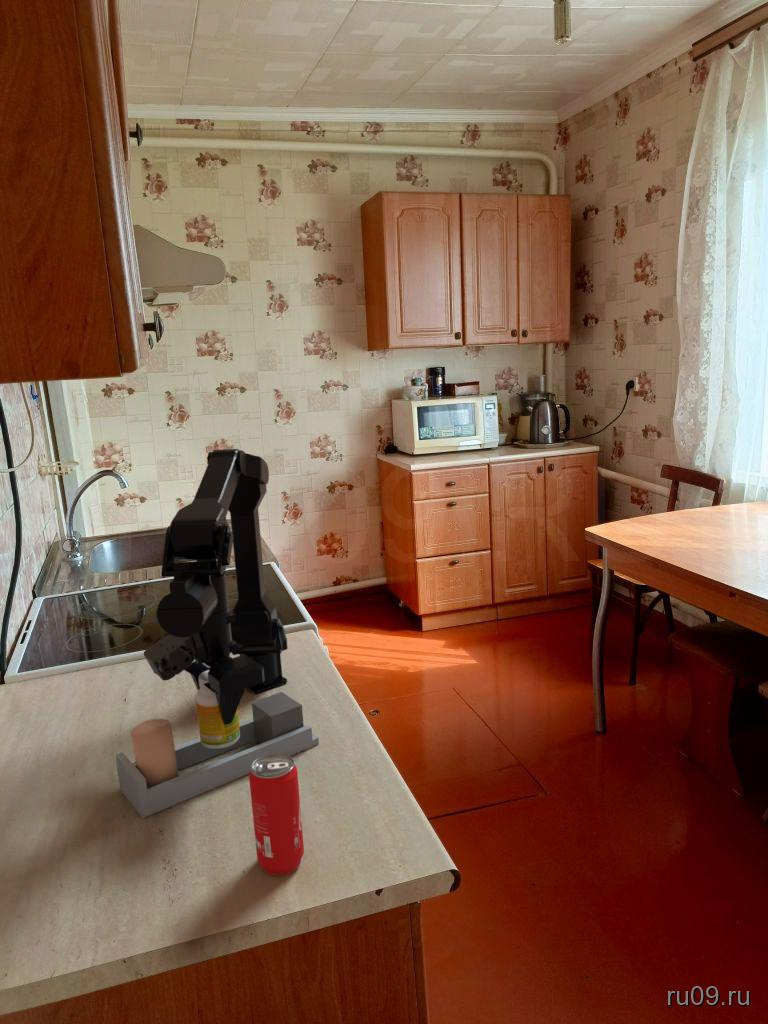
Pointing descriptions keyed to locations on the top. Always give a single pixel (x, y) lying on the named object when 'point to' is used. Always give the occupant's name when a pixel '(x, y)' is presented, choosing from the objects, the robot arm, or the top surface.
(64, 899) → the top surface
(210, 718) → the supplement bottle
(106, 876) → the top surface
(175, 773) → the jar
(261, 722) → the block
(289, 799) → the beverage can
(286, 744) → the tray
